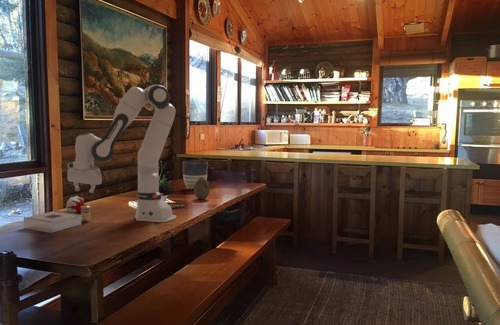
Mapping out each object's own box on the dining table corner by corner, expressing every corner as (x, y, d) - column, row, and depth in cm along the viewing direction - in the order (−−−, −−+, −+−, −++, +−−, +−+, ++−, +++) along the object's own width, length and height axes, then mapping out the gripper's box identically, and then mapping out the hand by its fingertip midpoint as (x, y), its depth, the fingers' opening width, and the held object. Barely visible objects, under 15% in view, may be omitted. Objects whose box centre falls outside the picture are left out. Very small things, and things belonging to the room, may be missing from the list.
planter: (206, 191, 316) (206, 163, 314) (180, 191, 316) (180, 162, 314) (209, 187, 335) (209, 160, 333) (184, 187, 336) (184, 160, 333)
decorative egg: (205, 201, 277) (205, 178, 276) (190, 200, 281) (191, 177, 279) (212, 198, 288) (212, 176, 286) (197, 197, 291) (198, 176, 290)
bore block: (81, 224, 210) (81, 214, 210) (51, 232, 194) (50, 221, 193) (55, 220, 217) (54, 210, 217) (24, 228, 201) (23, 217, 201)
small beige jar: (92, 221, 218) (92, 205, 217) (85, 222, 214) (85, 207, 213) (85, 220, 220) (85, 205, 219) (79, 221, 216) (78, 206, 215)
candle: (72, 208, 245) (93, 214, 240) (58, 212, 234) (79, 218, 229) (73, 193, 243) (95, 198, 239) (59, 196, 233) (81, 202, 228)
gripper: (104, 166, 213) (104, 193, 214) (74, 163, 221) (74, 189, 222) (95, 167, 207) (95, 194, 208) (65, 164, 215) (65, 190, 216)
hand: (84, 191), depth 215 cm, fingers open, 8 cm apart
